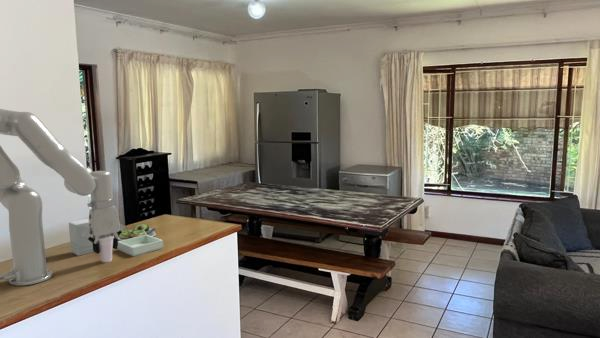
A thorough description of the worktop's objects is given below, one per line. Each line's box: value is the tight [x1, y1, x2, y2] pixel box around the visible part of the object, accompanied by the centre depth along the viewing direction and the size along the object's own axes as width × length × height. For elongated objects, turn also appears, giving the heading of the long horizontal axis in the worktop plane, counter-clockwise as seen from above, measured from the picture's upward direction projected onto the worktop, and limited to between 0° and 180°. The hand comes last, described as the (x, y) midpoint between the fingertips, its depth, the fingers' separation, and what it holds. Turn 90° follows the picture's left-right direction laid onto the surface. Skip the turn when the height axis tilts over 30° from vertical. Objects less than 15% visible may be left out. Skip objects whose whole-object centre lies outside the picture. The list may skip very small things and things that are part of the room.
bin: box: [117, 235, 164, 257], centre depth 181 cm, size 13×13×4 cm
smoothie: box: [98, 234, 114, 263], centre depth 167 cm, size 6×6×14 cm
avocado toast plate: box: [118, 223, 157, 241], centre depth 198 cm, size 19×18×5 cm
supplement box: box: [68, 218, 95, 257], centre depth 178 cm, size 7×7×13 cm
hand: (105, 250), depth 167 cm, fingers closed on smoothie, 6 cm apart
